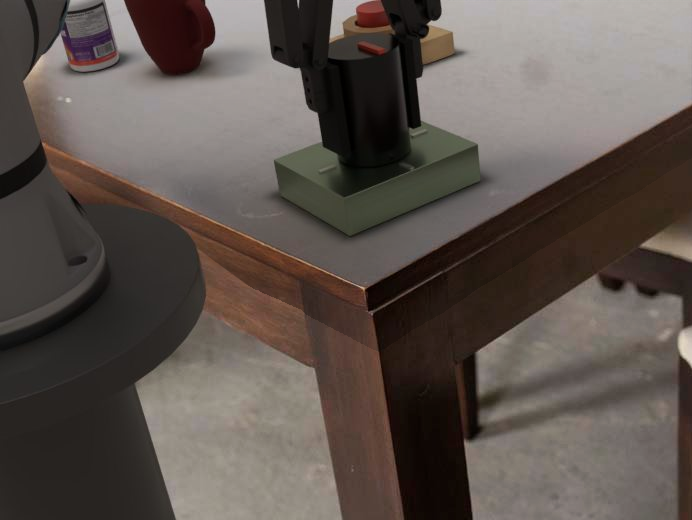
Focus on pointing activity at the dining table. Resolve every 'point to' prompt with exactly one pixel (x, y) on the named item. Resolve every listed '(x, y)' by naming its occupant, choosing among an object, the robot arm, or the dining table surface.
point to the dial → (372, 98)
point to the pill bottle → (89, 36)
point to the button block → (431, 46)
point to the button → (371, 15)
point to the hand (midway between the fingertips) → (372, 135)
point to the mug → (173, 32)
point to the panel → (378, 179)
